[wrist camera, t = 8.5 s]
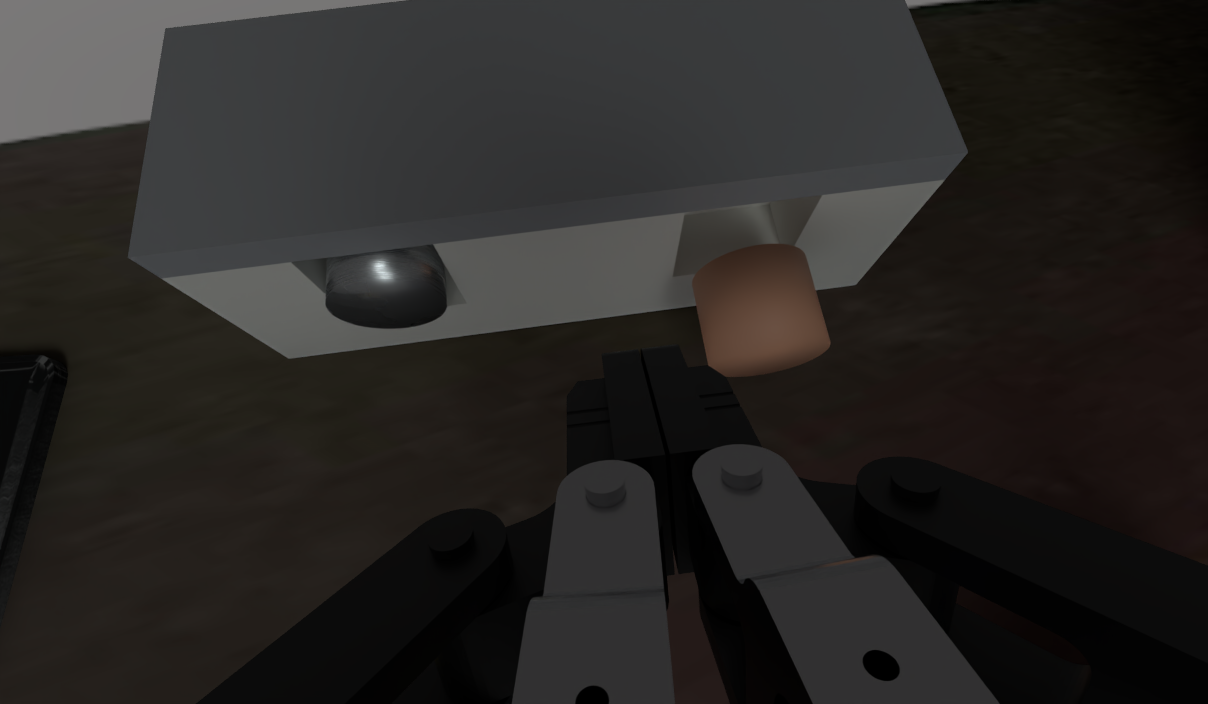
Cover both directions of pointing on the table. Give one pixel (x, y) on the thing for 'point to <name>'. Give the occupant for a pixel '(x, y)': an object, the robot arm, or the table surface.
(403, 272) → the black glossy rounded piece
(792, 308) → the brown clay cylinder
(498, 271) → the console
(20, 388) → the phone
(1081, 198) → the table surface
